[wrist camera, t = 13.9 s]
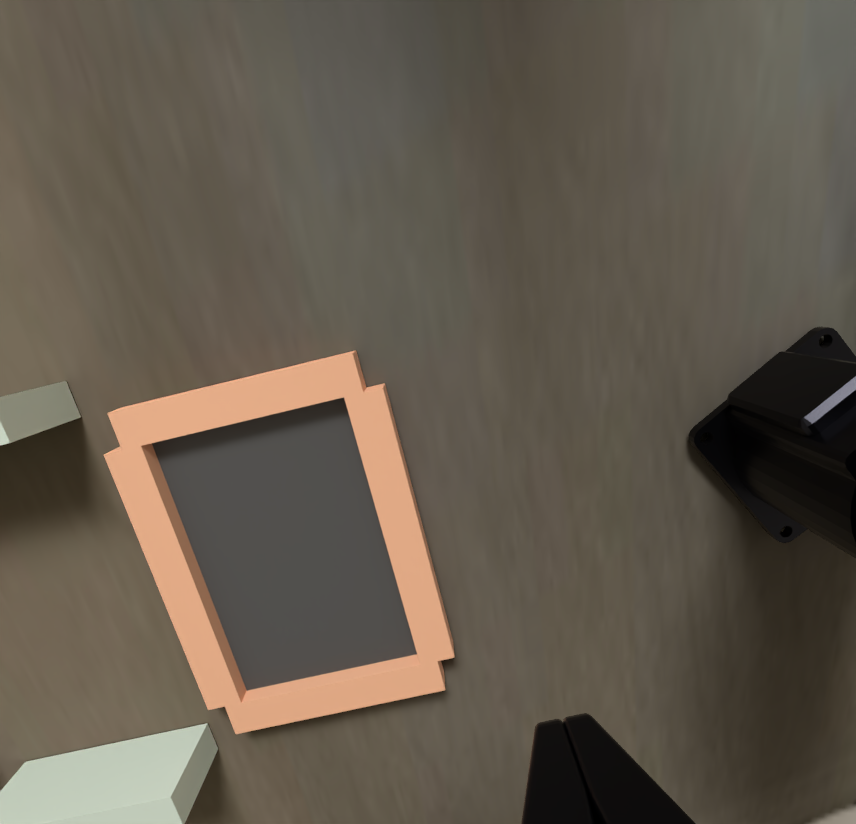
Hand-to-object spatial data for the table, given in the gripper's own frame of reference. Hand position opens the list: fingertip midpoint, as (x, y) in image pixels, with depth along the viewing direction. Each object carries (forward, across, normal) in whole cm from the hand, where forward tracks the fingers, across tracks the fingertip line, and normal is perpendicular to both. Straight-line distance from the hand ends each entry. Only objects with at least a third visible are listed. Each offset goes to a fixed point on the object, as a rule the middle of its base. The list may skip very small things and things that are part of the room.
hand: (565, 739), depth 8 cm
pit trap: (+13, +8, +2) cm, 16 cm away
